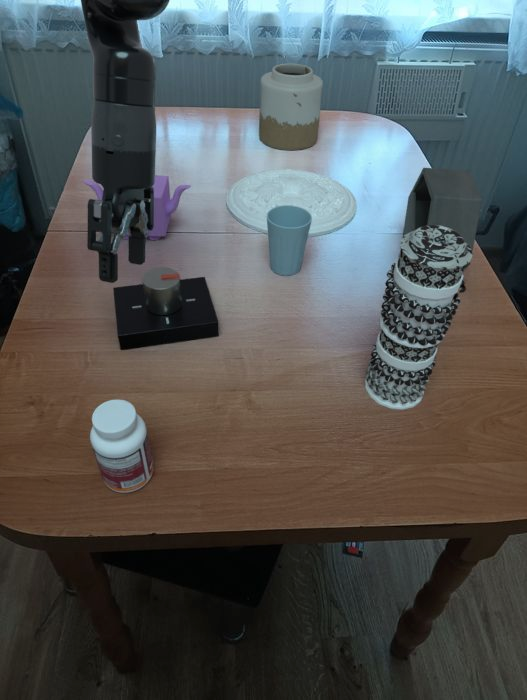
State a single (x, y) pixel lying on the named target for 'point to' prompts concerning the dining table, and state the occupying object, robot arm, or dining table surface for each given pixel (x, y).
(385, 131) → the dining table surface
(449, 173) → the planter
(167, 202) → the teapot
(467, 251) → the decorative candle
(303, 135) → the vase
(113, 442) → the pill bottle
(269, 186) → the ceiling medallion
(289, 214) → the cup
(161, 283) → the hob knob
